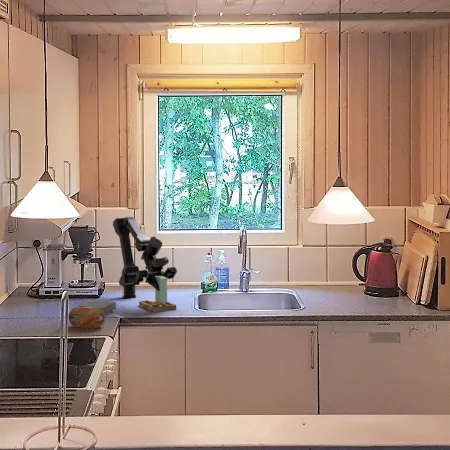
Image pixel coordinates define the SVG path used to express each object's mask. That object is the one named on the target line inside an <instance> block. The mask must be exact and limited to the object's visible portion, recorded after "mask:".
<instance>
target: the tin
mask: <svg viewBox="0 0 450 450" xmlns="http://www.w3.org/2000/svg"><path fill="white" fill-rule="evenodd" d="M68 321H69V324H70V325H71V326H73V327H74V328H77V327H82V328H81V329H98V328H100V327H101V326H103V325H104V324H105V322H106V316H105V313H104V311H103V310H102V309H100V308H98V307H79V306H77V307H74V308H72V309H71V310H70V311H69V313H68Z"/></svg>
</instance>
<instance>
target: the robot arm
mask: <svg viewBox="0 0 450 450" xmlns="http://www.w3.org/2000/svg"><path fill="white" fill-rule="evenodd" d="M112 226H113V228H114V233H115V234H116V235H117V237H118V238H119V244H120V249H121V257H122V260H123V261H122V262H123V267H122V269H121V276H120V278H119V280H118V283H119V286H121V287H122V290H123V294H122V300H124V299H125V300H127V299H128V300H129V299H137V294H136V286H140V283H142V282H144V280H145V283H146V284H148V285H150V286H151V287H153V288H154V289H156V290H158V291H159V290H160V289H159V286H158V283H157V281H156V279H155V277H159V276H163V277H166V278H167V280H171V279H174V278H175V276H176V274H177V273H178V269H177V268H176V267H175V266H171V267H170V266H169V267H167V268H166V270H164V267H165V266H166V265H168V264H169V258H168V256H163V257H160V258H157V255H158V254H159V252H160V251H161V248H162V247H163V242H162V241H161V240H160V239H159V238H157V237H156V236H151V237H150V236H148V235H146V234H144V232H143V231H142V229H141V227H140V226H139V224H138V222H137V221H136V217H134V216H125V217H117V218H115V219H114V220H113V221H112ZM130 234H131V236H132V238H133V239H134V247H135V249H136V251H137V252H142V254H141V257H140V259H141V261H142V260H143V262H144V264H145V269H143V270H142V269H141V270H140V269H139V266H137V265H136V264H135V261H134V258H133V257H134V256H133V249H132V245H131V244H132V243H131V237H130Z"/></svg>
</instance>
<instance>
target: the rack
mask: <svg viewBox="0 0 450 450" xmlns="http://www.w3.org/2000/svg"><path fill="white" fill-rule="evenodd" d="M149 300H150V299H147V300H140V301H139V302H138V304H139V305H138V306H139V307H141V308H143V309H146V310H148V311H151V312H152V313H160V312H165V311H167V312H168V311H174V310H177V304H176V303H173V302H170V301H168V300H167V302H166V303H160V306H157V305H155V304H153V306H151V305H149V304H148V301H149ZM153 300H155V299H153Z"/></svg>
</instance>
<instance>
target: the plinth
mask: <svg viewBox="0 0 450 450" xmlns="http://www.w3.org/2000/svg"><path fill="white" fill-rule="evenodd" d="M116 303H117V302H116V301H105V300H93V299H92V300H89V301H87V302H84V303H82V304H79V305H78V307H98V308H100V309H102V310H103V311H104V313H105V317H107V316H109V315H110V313H111V314H113V313H114V310H116V309H117V304H116ZM112 312H113V313H112ZM108 314H109V315H108ZM106 315H107V316H106Z"/></svg>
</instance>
